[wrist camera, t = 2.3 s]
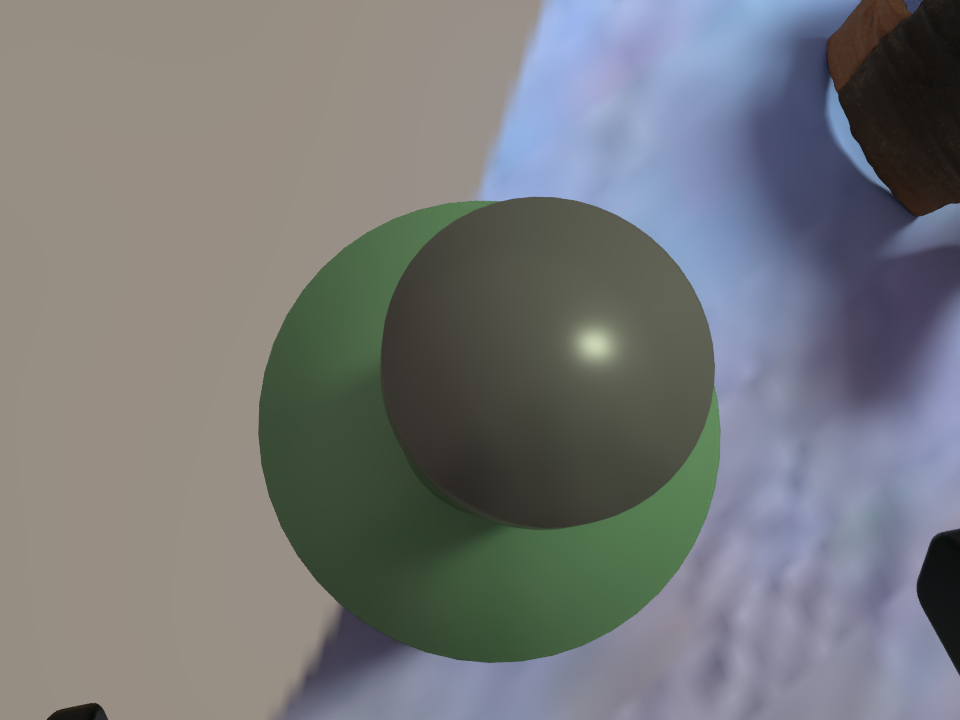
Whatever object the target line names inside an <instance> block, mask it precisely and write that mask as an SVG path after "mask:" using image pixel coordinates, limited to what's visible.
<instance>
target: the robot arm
mask: <svg viewBox="0 0 960 720" xmlns="http://www.w3.org/2000/svg"><path fill="white" fill-rule="evenodd" d="M917 595H918V598H919V601H920V604H921V606H922V608H923V610H924V612H925V614H926V615H927V617H928V619H929V621H930V623H931V624H932V626H933V628H934V630H935V632H936V634H937V635H938V637H939V639H940V641H941V643H942V644H943V646H944V648H945V650H946V652H947V653H948V655H949V657H950V659H951V661H952V663H953V664H954V666H955V668H956V670H957V672H958V673H959V675H960V529H956V530H951V531H946V532H941V533H938V534H937V535H936V536H934V537H933V539H932V540H931V542H930V545H929V548H928V551H927V554H926V557H925V560H924V563H923V565H922V568H921V571H920V574H919V577H918V580H917ZM47 720H108V719H107V716H106V714H105V712H104V710H103V708H102V707H101V706H100V705H99V704H96V703H90V704H85V705H80V706H76V707H70V708H65V709H61V710H58V711H56V712H54V713H53V714H52V715H51V716H50V717H49V718H48V719H47Z"/></svg>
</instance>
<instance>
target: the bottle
mask: <svg viewBox="0 0 960 720" xmlns="http://www.w3.org/2000/svg"><path fill="white" fill-rule="evenodd" d="M714 372H715V363H714V353H713V343H712V339H711V335H710V330H709V326H708V322H707V319H706V317H705V314H704V311H703V308H702V305H701V303H700V301H699V299H698V297H697V295H696V293H695V291H694V289H693V287H692V285H691V284H690V282H689V281H688V279H687V278H686V276H685V275H684V273H683V272H682V270H681V269H680V267H679V266H678V265H677V264H676V263H675V261H674V260H673V259H672V258H671V257H670V256H669V254H668V253H667V252H666V251H665V250H664V249H663V248H662V247H661V246H660V245H659V244H657V243H656V242H655V241H654V240H653V239H652V238H651V237H650V236H648V235H647V234H646V233H644V232H643V231H641V230H640V229H639V228H637V227H636V226H635V225H633V224H631V223H630V222H628V221H626V220H624V219H622V218H621V217H619V216H617V215H615V214H613V213H611V212H608V211H606V210H603V209H601V208H598V207H596V206H593V205H589V204H585V203H582V202H578V201H574V200H568V199H561V198H554V197H528V198H517V199H511V200H506V201H468V202H457V203H448V204H443V205H439V206H434V207H429V208H425V209H421V210H417V211H415V212H412V213H409V214H407V215H404V216H401V217H398V218H395V219H393V220H391V221H389V222H387V223H385V224H383V225H381V226H379V227H377V228H375V229H373V230H371V231H369V232H367V233H366V234H364V235H363V236H362V237H360V238H359V239H357V240H356V241H354V242H353V243H352V244H350V245H348V246H347V247H345V248H344V249H343V250H342V251H341V252H339V253H338V254H337V255H336V256H335V257H334V258H333V259H332V260H331V261H329V262H328V263H327V264H326V265H325V266H324V267H323V268H322V269H321V270H320V271H319V272H318V273H317V275H316V276H315V277H314V278H313V279H312V281H311V282H310V283H309V284H308V285H307V286H306V288H305V289H304V290H303V291H302V293H301V294H300V296H299V297H298V299H297V300H296V302H295V304H294V305H293V307H292V308H291V310H290V311H289V313H288V314H287V316H286V318H285V320H284V322H283V325H282V327H281V329H280V331H279V333H278V336H277V337H276V340H275V342H274V344H273V347H272V351H271V354H270V357H269V360H268V363H267V366H266V370H265V373H264V380H263V385H262V391H261V397H260V403H259V404H260V405H259V433H258V434H259V444H260V453H261V463H262V468H263V472H264V476H265V481H266V484H267V489H268V493H269V497H270V499H271V502H272V504H273V507H274V509H275V512H276V514H277V517H278V520H279V522H280V525H281V527H282V529H283V531H284V532H285V534H286V536H287V538H288V539H289V541H290V543H291V545H292V546H293V548H294V550H295V552H296V554H297V555H298V557H299V558H300V559H301V561H302V562H303V563H304V564H305V566H306V567H307V569H308V570H309V571H310V572H311V574H312V575H313V576H314V578H315V579H316V580H317V581H318V582H319V583H320V584H321V586H323V588H324V589H325V590H326V591H328V593H330V595H331V596H332V597H334V599H335V600H336V601H337V602H338V603H339V604H341V605H342V606H343V607H345V608H346V609H347V610H349V611H350V612H351V613H352V614H354V615H355V616H356V617H358V618H359V619H360V620H362V621H363V622H364V623H366V624H367V625H369V626H371V627H373V628H374V629H376V630H378V631H380V632H381V633H383V634H385V635H387V636H389V637H390V638H392V639H394V640H396V641H399V642H401V643H404V644H406V645H409V646H411V647H414V648H416V649H419V650H422V651H424V652H427V653H432V654H436V655H440V656H444V657H448V658H453V659H457V660H466V661H477V662H487V663H494V662H517V661H526V660H531V659H537V658H542V657H547V656H553V655H556V654H559V653H562V652H565V651H568V650H571V649H574V648H577V647H580V646H583V645H585V644H587V643H589V642H591V641H593V640H595V639H597V638H599V637H601V636H603V635H605V634H607V633H609V632H611V631H612V630H614V629H615V628H617V627H618V626H619V625H621V624H622V623H624V622H625V621H627V620H628V619H630V618H631V617H633V616H634V615H635V614H637V613H638V612H639V611H640V610H641V609H642V608H643V607H644V606H645V605H647V604H648V603H649V602H650V601H651V600H652V599H653V598H654V597H655V596H656V595H658V594H659V592H660V591H661V590H662V589H663V588H664V586H665V585H666V584H667V583H668V582H669V580H670V579H671V578H672V577H673V576H674V574H675V573H676V572H677V571H678V569H679V568H680V566H681V565H682V563H683V561H684V560H685V558H686V557H687V555H688V553H689V552H690V550H691V549H692V547H693V545H694V543H695V541H696V539H697V537H698V535H699V532H700V530H701V528H702V526H703V524H704V521H705V519H706V517H707V513H708V510H709V507H710V503H711V500H712V497H713V493H714V490H715V485H716V478H717V472H718V466H719V460H720V420H719V410H718V400H717V396H716V391H715V387H714Z"/></svg>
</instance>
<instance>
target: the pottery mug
mask: <svg viewBox="0 0 960 720" xmlns="http://www.w3.org/2000/svg"><path fill="white" fill-rule="evenodd" d="M827 44H828V50H827V60H828V64H829V73H830V75H831V78H832V79H833V82H834V87H835V89H836V91H837V93H838V98H839V102H840V104H841V107H842V109H843V110H844V113H845V115H846V117H847V119H848V121H849V124H850V131H851V134H852V136H853V137H854V139H855V140H856V141H857V142H858V143H859V145H860V147H861V149H862V151H863V153H864V155H865V157H866V160H867V161H868V163H869V164H870V165H871V166H872V167H873V169H874V171H875V173H876V174H877V176H878V177H879V179H880V180H881V181H882V182H883V183H884V184H885V185H886V186H887V187H888V188H889V189H890V191H891V192H892V194H893V195H894V196H895V197H896V198H897V199H898V200H899V201H900V202H901V203H902V204H903V205H904V206H905V207H906V208H907V209H908V210H909V211H910V212H911V213H912V214H914V215H916V216H923V215H926V214H929V213H931V212H933V211H935V210H938V209H940V208H942V207H943V206H945V205H947V204H951V203H954V204H957V203H960V0H923V1H922V3H921V4H920V6H919V7H918V9H917V10H916V11H915V12H914V13H913V14H911V13H910V12H909V11H908V10H907V6H906V4H905V2H904V0H862V1H861V2H860V4H859V5H858V6H857V7H856V8H855V10H854V11H853V12H852V13H851V14H850V16H849V17H848V18H847V19H846V21H845V22H844V24H843V25H842V26H841V27H840V28H839V29H838V30H837V31H836V32H835V33H834V34H833V35H832V36H831V37H830V39H829V40H828V43H827Z"/></svg>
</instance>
